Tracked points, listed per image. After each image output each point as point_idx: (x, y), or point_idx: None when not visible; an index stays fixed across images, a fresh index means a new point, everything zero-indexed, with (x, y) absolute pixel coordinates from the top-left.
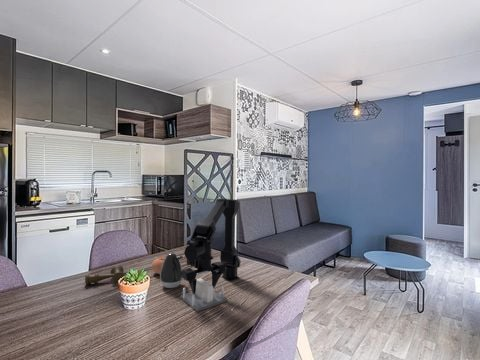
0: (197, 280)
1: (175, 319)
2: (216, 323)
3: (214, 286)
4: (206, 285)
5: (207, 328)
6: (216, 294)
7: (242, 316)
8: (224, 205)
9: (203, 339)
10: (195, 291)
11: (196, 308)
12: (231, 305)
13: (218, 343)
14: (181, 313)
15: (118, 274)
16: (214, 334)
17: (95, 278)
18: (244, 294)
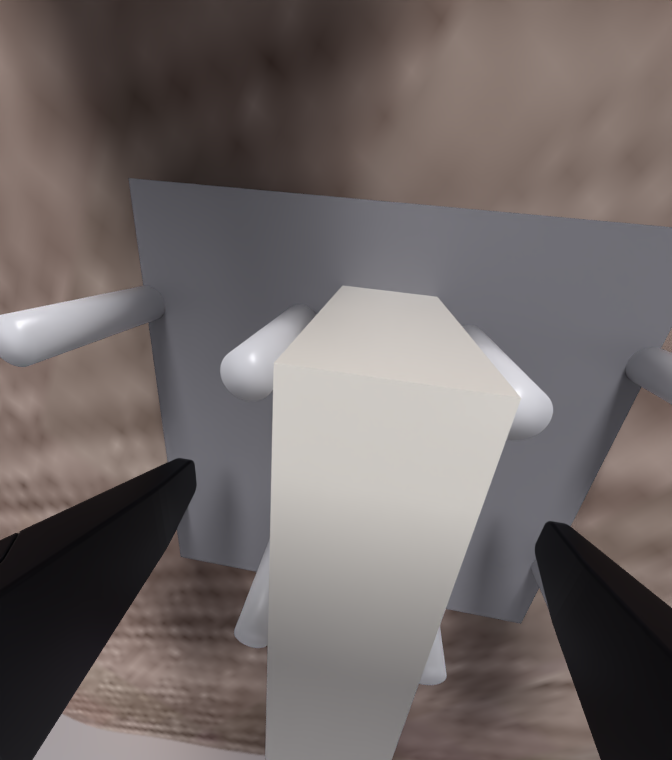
0: (288, 477)
1: (18, 506)
2: (231, 676)
3: (558, 598)
4: (294, 742)
5: (166, 668)
6: (531, 504)
7: (401, 733)
8: None
9: (114, 691)
10: (169, 540)
11: (180, 546)
12: (470, 648)
13: (160, 733)
14: (74, 478)
15: None
16: (174, 704)
17: None
18: None
